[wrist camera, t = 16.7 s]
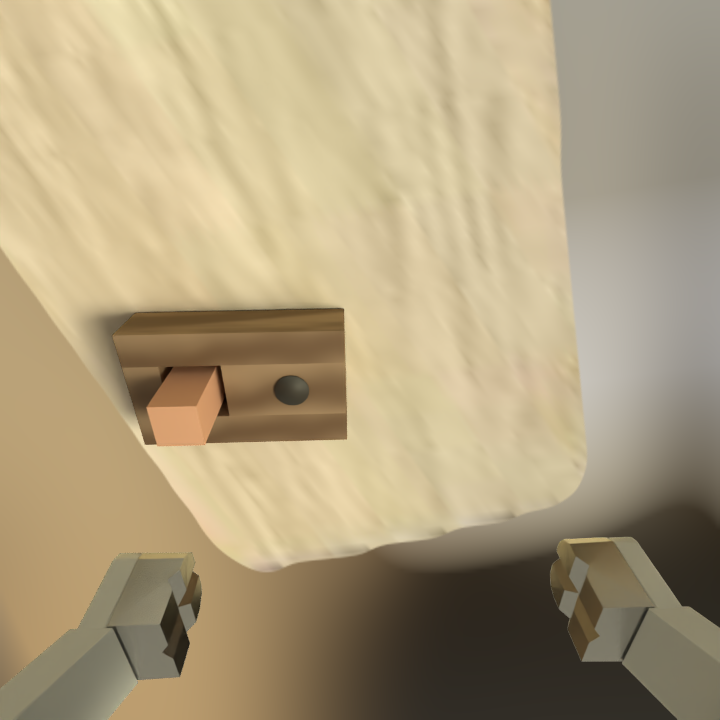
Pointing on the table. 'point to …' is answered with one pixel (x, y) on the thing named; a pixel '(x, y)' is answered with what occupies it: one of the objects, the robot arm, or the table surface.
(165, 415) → the square peg
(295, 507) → the table surface
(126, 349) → the socket block
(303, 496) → the table surface
